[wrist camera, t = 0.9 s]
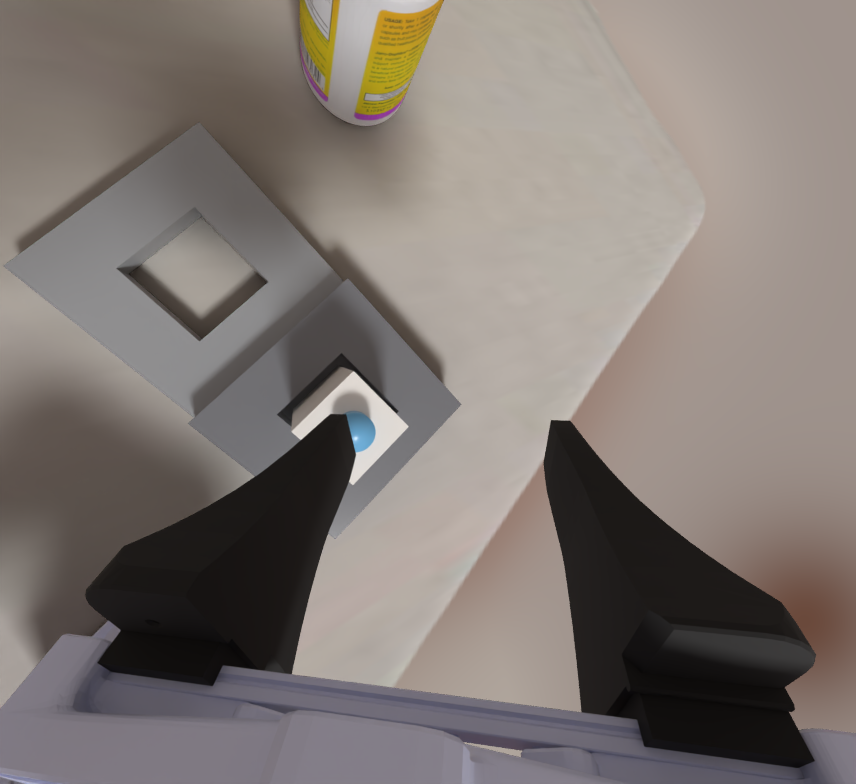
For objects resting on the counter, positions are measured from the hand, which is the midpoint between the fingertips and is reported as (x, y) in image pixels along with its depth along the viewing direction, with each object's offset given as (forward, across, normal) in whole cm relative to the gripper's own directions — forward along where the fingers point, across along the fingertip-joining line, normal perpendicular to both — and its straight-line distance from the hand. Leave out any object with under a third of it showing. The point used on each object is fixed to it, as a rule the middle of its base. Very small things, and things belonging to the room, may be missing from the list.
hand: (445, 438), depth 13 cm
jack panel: (+10, +12, +2) cm, 15 cm away
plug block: (+9, +8, +6) cm, 13 cm away
